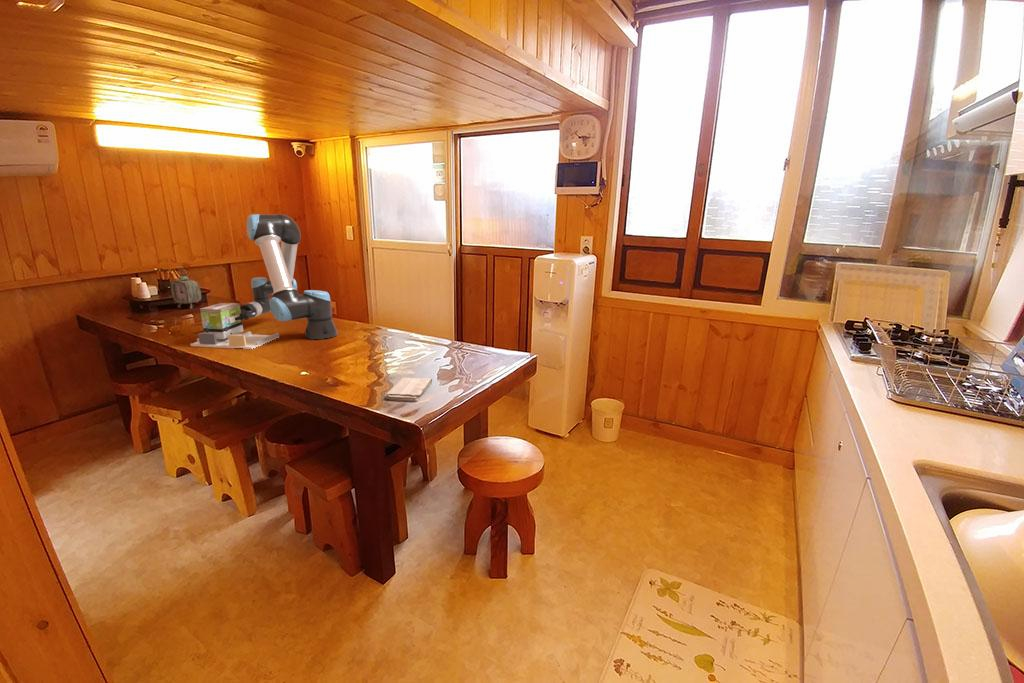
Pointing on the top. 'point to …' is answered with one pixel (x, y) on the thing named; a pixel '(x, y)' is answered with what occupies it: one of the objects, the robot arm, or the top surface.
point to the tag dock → (234, 340)
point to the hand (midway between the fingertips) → (218, 320)
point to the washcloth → (409, 389)
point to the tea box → (221, 319)
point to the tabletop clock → (185, 290)
